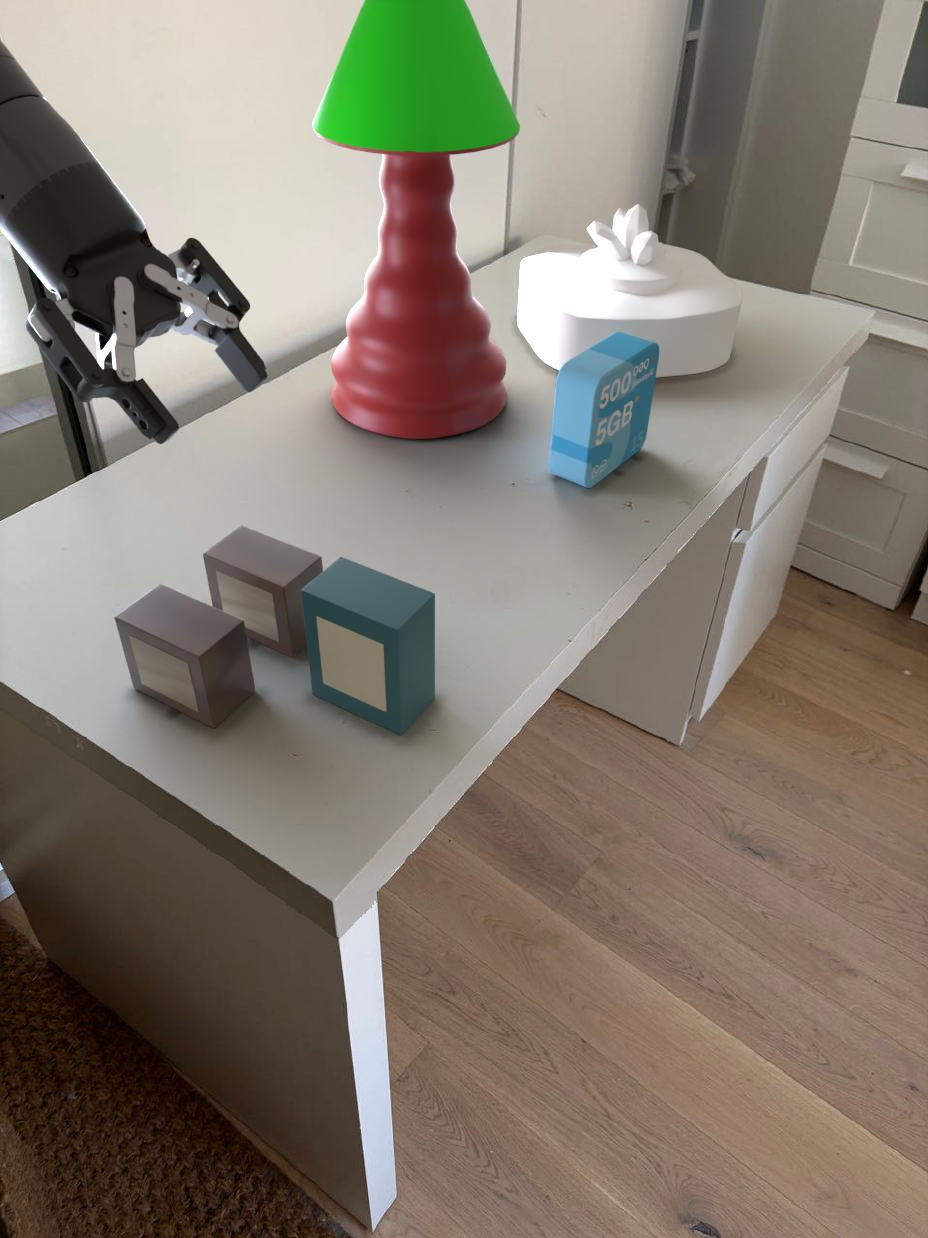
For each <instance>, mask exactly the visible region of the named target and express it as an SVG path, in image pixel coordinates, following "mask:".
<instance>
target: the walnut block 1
mask: <svg viewBox="0 0 928 1238" xmlns="http://www.w3.org/2000/svg"><path fill="white" fill-rule="evenodd" d="M113 618H114V621H115V626H116V629H117V633H118V636H119V639H120V643H121V647H122V651H123V654H124V657H125V661H126V665H127V668H128V673H129V676H130V679H131V683H132V687H133V688H134V689H135V690H137V691H139V692H141V693H143V694H144V695H147V696H149V697H151V698H153V699H154V700H157V701H159V702H161V703H162V704H165V705H166V706H168V707H170V708H172V709H175V710H176V711H178V712H180V713H182V714H184V715H187V716H188V717H190V718H192V719H194V720H196V721H198V722H200V723H202V724H204V725H206V726H207V727H210V728H212V729H216V728H217V727H218V726H219V725H220V724H221V723H222V722H223V721H225V719H227V718H228V717H229V716H230V715H231V714H232V713H233V712H234V711H236V709H238V708H239V707H240V706H241V705H242V704H243V703H244V702H246V700H248V698H250V697H251V696H252V695H253V694H254V693H255V692H256V685H255V680H254V673H253V667H252V662H251V656H250V649H249V643H248V637H246V630H245V624H244V620H242V619H240V618H237V617H235V616H233V615H231V614H228V613H226V612H224V611H222V610H219V609H217V608H215V607H213V606H212V605H210V604H208V603H206V602H204V601H201V600H200V599H197V598H195V597H192V596H190V595H188V594H186V593H183V592H181V591H179V590H176V589H174V588H172V587H170V586H167V585H166V584H163V583H159V584H158V585H156V586H155V587H153V588H152V589H151V590H150V591H148V592H146V593H145V594H144V595H142V596H141V597H140V598H138V599H137V600H135V601H134V602H133V603H131V604H130V605H128V606H127V607H126V608H124V609H123V610H122V611H120V612H119V613H118V614H116V615H114V617H113Z"/></svg>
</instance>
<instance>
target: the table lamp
mask: <svg viewBox="0 0 928 1238" xmlns="http://www.w3.org/2000/svg"><path fill="white" fill-rule="evenodd" d="M483 40H484V39H483V38H482V36H481V34H480V31H479V29H478V27H477V24H476V21H475V20H474V17H473V14H472V13H471V10H470V8H469V5H468V3H467V2H466V0H364V1H363V3H362V5H361V8H360V10H359V11H358V14H357V17H356V19H355V21H354V24H353V26H352V29H351V31H350V33H349V36H348V38H347V40H346V42H345V45H344V47H343V49H342V52H341V54H340V57H339V59H338V62H337V64H336V66H335V68H334V70H333V73H332V75H331V78H330V80H329V82H328V84H327V87H326V90H325V91H324V94H323V96H322V99H321V100H320V103H319V105H318V108H317V110H316V113H315V115H314V118H313V119H312V122H311V127H312V130H313V132H314V133H315V134H316V135H317V137H318V138H320V139H322V140H323V141H325V142H327V143H329V144H331V145H335V146H337V147H341V148H345V149H349V150H352V151H358V152H365V153H371V154H379V155H382V158H381V164H380V169H379V173H378V185H379V190H380V194H381V197H382V201H383V202H382V203H383V211H382V214H381V217H380V220H379V223H378V228H377V240H378V241H377V242H378V250H377V254H376V256H375V257H374V259H372V262H371V263H370V264H369V266H368V268H367V270H366V273H365V275H364V282H363V283H364V292H363V294H362V297H361V298H360V299H359V300H358V301H357V302H356V303H355V304H354V306H352V307H351V309H350V310H349V312H348V314H347V316H346V320H345V331H346V337H345V338H344V339H343V340H341V342H340V343H339V345H337V347H336V348H335V350H334V352H333V354H332V356H331V359H330V368H331V374H332V376H333V378H334V380H335V381H334V384H333V387H332V389H331V392H330V398H331V399H330V400H331V403H332V405H333V408H334V409H335V410H336V411H337V412H338V413H339V414H340V416H341V417H342V418H343V419H345V420H346V421H347V422H349V423H350V424H352V425H354V426H355V427H357V428H360V429H362V430H365V431H367V432H371V433H375V434H379V435H382V436H389V437H393V438H400V439H410V440H411V439H412V440H427V439H438V438H439V439H440V438H445V437H451V436H456V435H459V434H464V433H469V432H471V431H475V430H477V429H478V428H482V427H484V426H485V425H487V424H488V423H489V422H491V421H492V420H494V419H495V418H496V417H497V416H498V415H499V414H500V413H501V412H502V411H503V409H504V407H505V405H506V404H507V400H508V392H507V389H506V387H505V384H504V381H503V380H504V378H505V375H506V372H507V359H506V356H505V354H504V352H503V350H502V349H501V347H500V346H499V345H498V343H496V341H495V340H494V339H493V338H492V337H491V328H492V323H491V318H490V316H489V313H488V312H487V310H486V309H485V307H484V306H483V305H482V304H481V303H480V302H479V301H478V299H476V298H475V296H474V295H473V281H472V276H471V273H470V271H469V269H468V266H467V265H466V264H465V263H464V261H463V260H462V258H461V257H460V255H459V253H458V249H457V248H458V247H457V246H458V245H457V244H458V228H457V224H456V221H455V218H454V214H453V211H452V200H453V196H454V193H455V188H456V174H455V170H454V166H453V161H452V156H453V155H462V154H471V153H478V152H483V151H486V150H487V151H488V150H492V149H495V148H498V147H500V146H503V145H504V146H505V145H506V144H509V143H510V142H511V141H513V140H514V139H515V138H516V137H517V136H518V135H519V132H520V130H521V125H520V124H521V123H520V122H519V120H518V117H517V116H516V113H515V110H514V109H513V106H512V103H511V102H510V99H509V97H508V95H507V93H506V90H505V88H504V86H503V83H502V81H501V79H500V76H499V75H498V72H497V70H496V68H495V65H494V63H493V61H492V58H491V56H490V54H489V51H488V50H487V46H486V45H485V43H484V41H483Z"/></svg>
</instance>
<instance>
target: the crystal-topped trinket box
mask: <svg viewBox="0 0 928 1238" xmlns="http://www.w3.org/2000/svg"><path fill="white" fill-rule="evenodd" d="M649 229H650V223H649V218H648V213H647V210H646V209H645V208H644V207H643V206H642V205H641V204H640V203H637V204H636V205H633V207H631V208H630V209H628V210H626V209H624V208H622V207H621V206H620V207H619V208H617V210H616V212H615V214H613V221H612V228H610V227H609V226H607V225H606V224H605V223H603V222H600V221H597V220H593V221H592V222H591V223H590V224H589V226H588V227H587V228H586V230H587V232H588V234H589V236H591V238H592V240H593V242H594V243H595V244H562V245H561V244H560V245H552V246H548V247H544V248H540V249H538V250H536V251H534V252H532V253H531V254H529V255H527V256H526V257H524V258H523V259H522V260H521V262H520V267H519V282H518V283H519V284H518V302H517V315H516V316H517V318H516V323H517V327H518V329H519V331H520V332H521V334H522V336H523V337H524V338H525V340H526V341H527V342H528V344H529V345H530V347H531V348H532V350H533V351H534V352H535V354H536V355H537V357H538V358H539V359H540V360H541V361H542V362H543V363H544V364H546V365H547V366H549V367H551V368H552V369H555V370H556V371H558V372H559V371H560V369H561V367H562V366H563V365H564V364H565V363H566V362H567V361H569V360H571V359H572V358H574V357H575V356H577V355H579V354H580V353H582V352H584V351H585V350H587V349H589V348H590V347H592V346H594V345H595V344H597V343H599V342H600V341H602V340H604V339H605V338H607V337H608V336H610V335H612V334H613V333H615V332H622V333H626V334H629V335H632V336H635V337H639V338H642V339H645V340H648V341H652V342H655V343H657V344H658V346H659V359H658V366H657V372H656V379H657V378H665V377H678V376H687V375H689V376H690V375H695V374H696V375H697V374H701V373H706V372H710V371H713V370H715V369H717V368H720V367H721V366H723V365H726V363H728V361H729V360H730V358H731V354H732V351H733V350H732V349H733V345H734V340H735V336H736V330H737V326H738V321H739V316H740V312H741V307H742V303H743V297H744V292H743V289H742V288H741V287H742V286H741V285H739V284H738V283H737V282H736V281H734V280H733V279H732V278H730V276H727V275H726V274H725V273H723V272H722V271H721V270H720V269H719V268H718V267H716V266H715V264H714V263H712V261H711V260H709V259H708V258H707V257H706V256H705V255H703V254H701V253H699V252H696V251H694V250H691V249H687V248H683V247H680V246H675V245H671V244H665V243H663V242H662V241H661V242H660V241H659V236H658V234H657V233H655V232H654V231H652V230H649Z"/></svg>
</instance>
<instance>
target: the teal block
mask: <svg viewBox="0 0 928 1238" xmlns="http://www.w3.org/2000/svg"><path fill="white" fill-rule="evenodd" d="M301 596H302V604H303V613H304V622H305V631H306V640H307V645H306V647H307V655H308V664H309V674H310V681H311V682H310V683H311V691H312V695H313V696H315V697H318V698H320V699H322V700H324V701H326V702H328V703H330V704H332V705H335V706H337V707H339V708H341V709H343V710H345V711H348V712H350V713H352V714H354V715H356V716H359V717H360V718H363V719H365V720H367V721H369V722H371V723H373V724H375V725H377V726H379V727H382V728H384V729H386V730H388V731H390V732H393V733H395V734H397V735H398V736H402V735H403V734H404V733H405V732H406V731H407V730H408V729H409V728H410V726H411V725H412V724H413V723H414V722H415V721H416V720H417V718H418V717H419V716H420V715H421V714H422V713H423V712H424V710H426V709H427V707H428V706H429V705H430V704H431V703H432V702H433V701H434V699H435V698H436V593H435V592H432V591H430V590H428V589H425V588H422V587H419V586H417V585H414V584H412V583H409V582H406V581H404V580H402V579H400V578H397V577H394V576H391V575H389V574H387V573H384V572H381V571H378V570H376V569H374V568H371V567H369V566H365V565H363V564H361V563H358V562H356V561H353V560H350V559H348V558H345V557H343V556H340V557H338V558H337V559H336V560H335V561H334V562H333V563H331V564H330V565H329V566H327V567H326V568H325V569H323V572H322V573H321V574H319V575H318V576H317V577H316V578H315V579H313V580H312V581H311V582H310V583H309V584H307V585H306V586H305V587H304V588H303V589H302V590H301Z"/></svg>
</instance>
